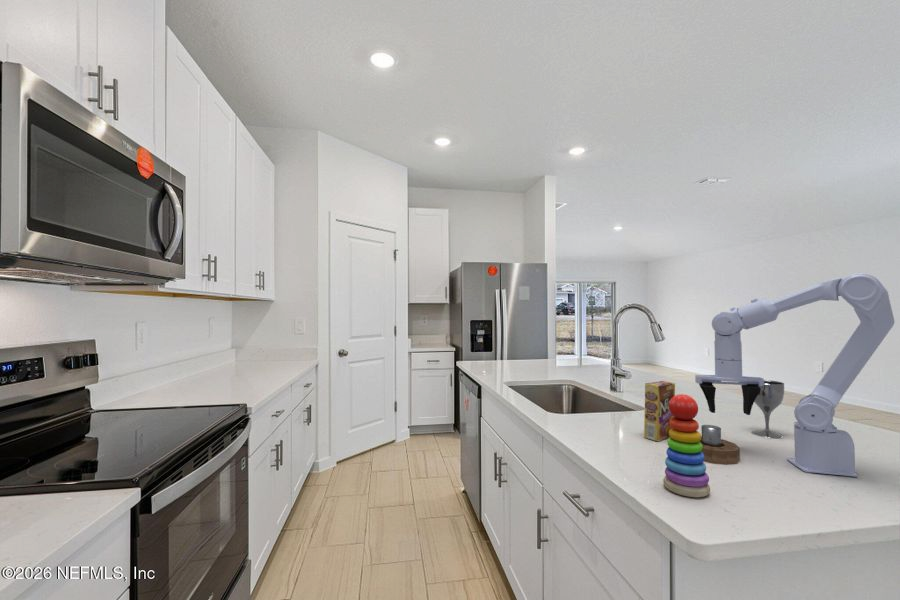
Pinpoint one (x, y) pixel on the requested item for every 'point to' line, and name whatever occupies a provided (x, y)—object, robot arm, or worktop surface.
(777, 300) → the robot arm
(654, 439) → the candy box
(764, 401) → the wine glass
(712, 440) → the steel peg
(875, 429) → the worktop surface
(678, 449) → the stacking toy
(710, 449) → the walnut bead
